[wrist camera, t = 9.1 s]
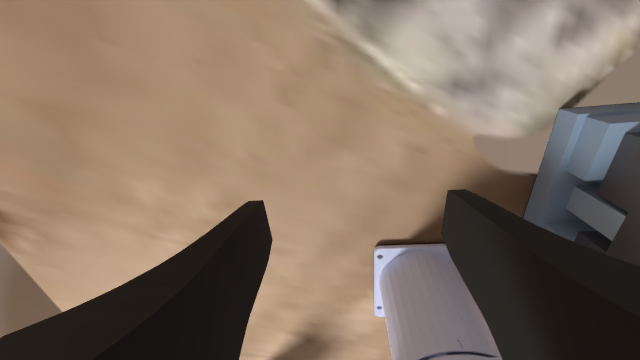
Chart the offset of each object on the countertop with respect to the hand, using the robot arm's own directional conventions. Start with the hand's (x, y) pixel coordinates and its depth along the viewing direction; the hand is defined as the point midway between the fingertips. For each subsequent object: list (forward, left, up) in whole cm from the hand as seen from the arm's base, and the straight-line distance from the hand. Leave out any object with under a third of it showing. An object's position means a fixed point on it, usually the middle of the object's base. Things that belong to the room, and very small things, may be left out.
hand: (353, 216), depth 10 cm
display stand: (-5, -17, -9) cm, 20 cm away
